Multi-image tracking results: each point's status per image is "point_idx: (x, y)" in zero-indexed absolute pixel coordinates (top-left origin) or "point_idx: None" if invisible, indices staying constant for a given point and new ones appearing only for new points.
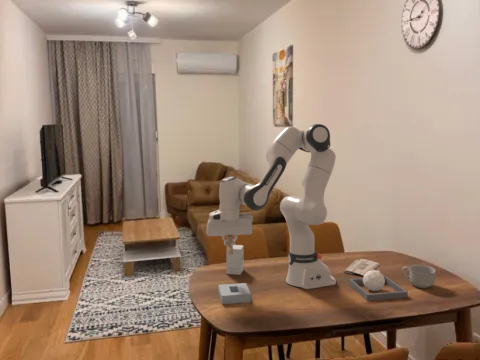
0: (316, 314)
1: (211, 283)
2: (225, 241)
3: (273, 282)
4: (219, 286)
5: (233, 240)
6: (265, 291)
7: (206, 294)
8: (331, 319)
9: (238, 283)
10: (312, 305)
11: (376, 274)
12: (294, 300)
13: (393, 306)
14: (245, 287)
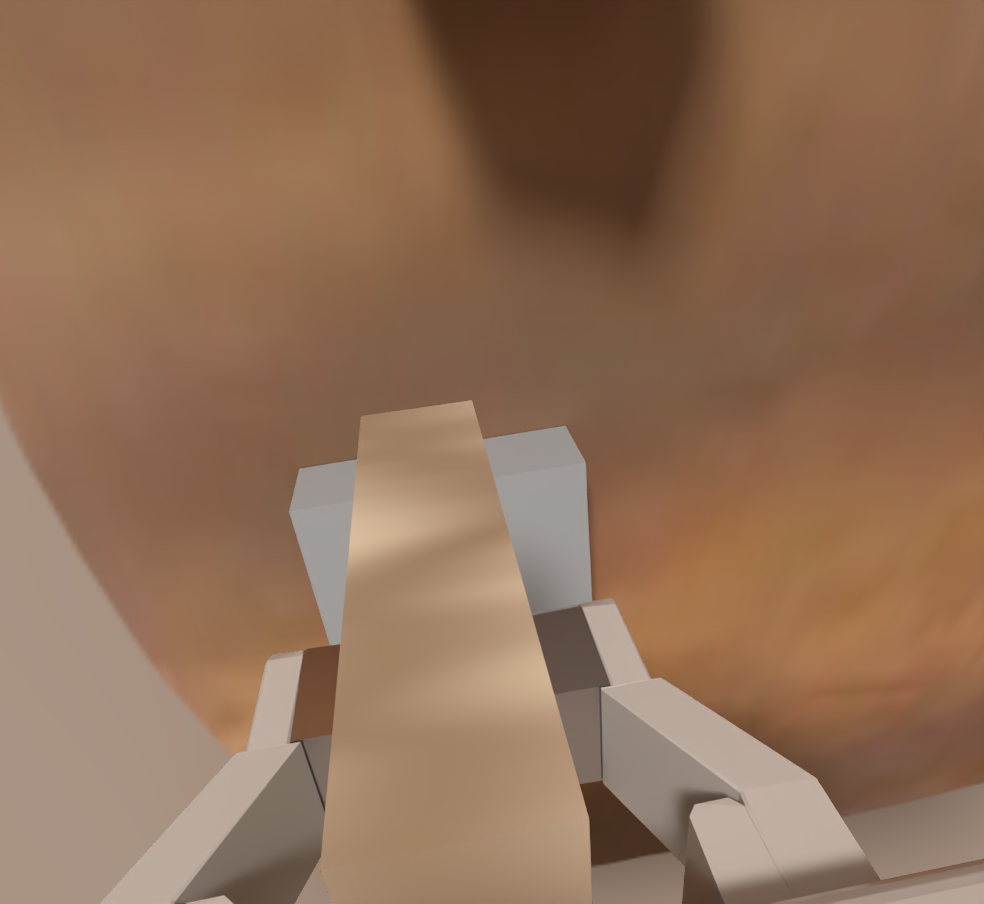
0: (914, 735)
1: (171, 213)
2: (317, 840)
3: (886, 216)
4: (308, 549)
5: (592, 730)
6: (736, 440)
7: (187, 507)
8: (954, 770)
9: (508, 476)
10: (956, 645)
11: None
12: (885, 587)
13: None
14: (567, 564)
